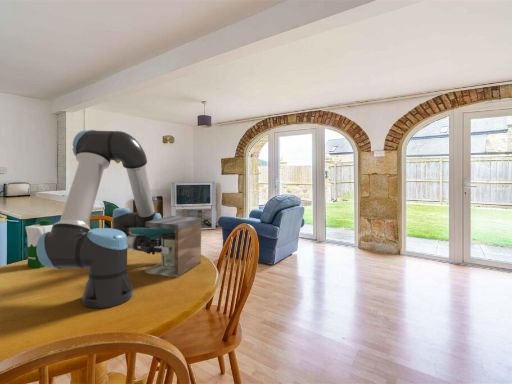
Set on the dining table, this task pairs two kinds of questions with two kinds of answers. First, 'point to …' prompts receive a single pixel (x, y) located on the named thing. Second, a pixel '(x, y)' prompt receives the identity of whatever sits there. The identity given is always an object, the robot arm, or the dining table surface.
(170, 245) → the coffee can
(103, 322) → the dining table surface
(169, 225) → the brown piece
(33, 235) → the milk carton
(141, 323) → the dining table surface
